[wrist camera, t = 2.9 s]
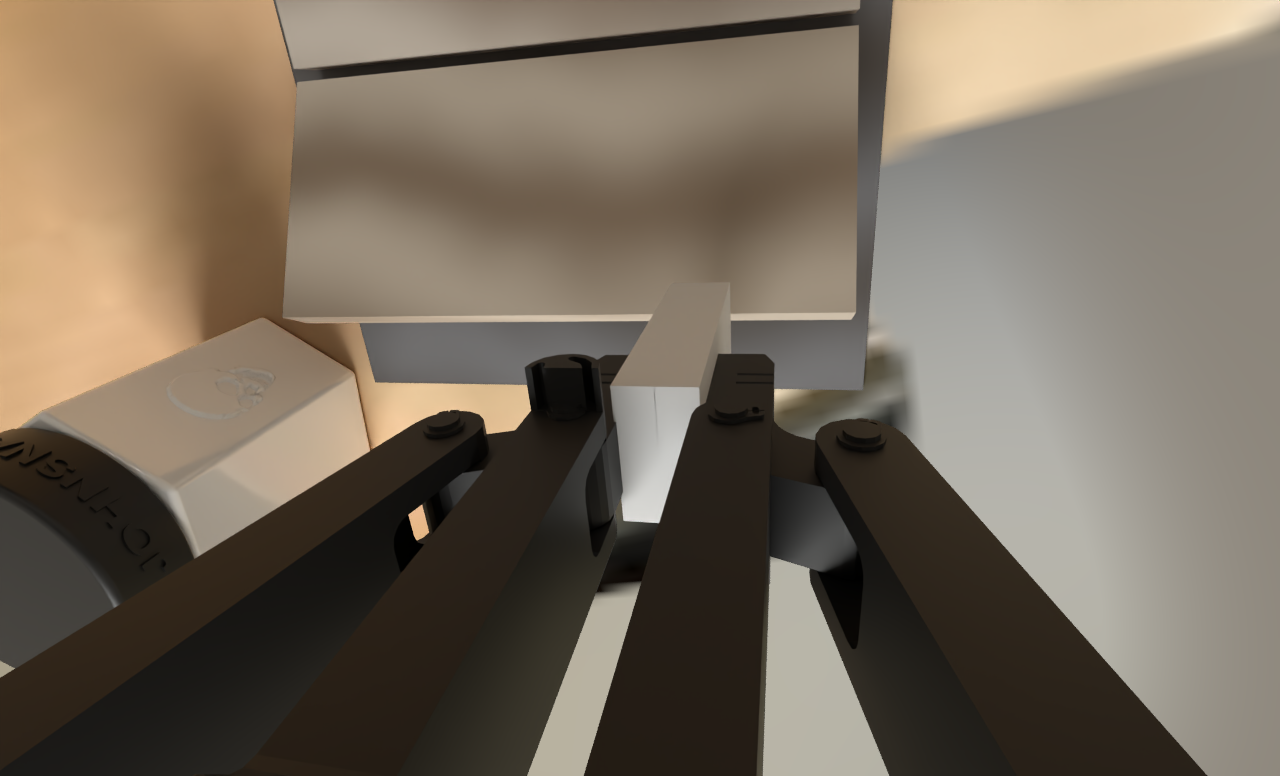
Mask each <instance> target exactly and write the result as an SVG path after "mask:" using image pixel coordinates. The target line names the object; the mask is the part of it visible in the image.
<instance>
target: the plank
mask: <svg viewBox="0 0 1280 776" xmlns="http://www.w3.org/2000/svg"><path fill="white" fill-rule="evenodd" d="M858 60H859V25H855V26H845V27H835V28H826V29H816V30H806V31H796V32H786V33H776V34H766V35H757V36H747V37H737V38H727V39H717V40H707V41H697V42H688V43H678V44H668V45H658V46H648V47H638V48H629V49H619V50H609V51H599V52H589V53H579V54H569V55H560V56H550V57H540V58H530V59H520V60H510V61H500V62H491V63H481V64H471V65H461V66H451V67H441V68H431V69H422V70H412V71H402V72H392V73H382V74H372V75H362V76H353V77H343V78H333V79H323V80H313V81H303V82H297V94H296V109H295V125H294V141H293V157H292V173H291V188H290V204H289V220H288V236H287V251H286V267H285V283H284V299H283V315H282V318H286V319H291V320H295V321H300V322H304V323H427V322H579V321H649V320H650V319H651V317H652V316H653V314H654V312H655V311H656V309H657V307H658V306H659V304H660V302H661V301H662V299H663V297H664V296H665V294H666V292H667V291H668V289H669V287H670V286H671V284H672V283H707V282H730V312H731V321H732V320H851V319H852V318H853V316H854V315H855V313H856V271H857V166H858Z"/></svg>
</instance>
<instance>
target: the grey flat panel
mask: <svg viewBox="0 0 1280 776" xmlns="http://www.w3.org/2000/svg"><path fill="white" fill-rule="evenodd" d="M892 2H893V0H274V4H275V8H276V12H277V15H278V19H279V23H280V27H281V30H282V34H283V38H284V42H285V45H286V49H287V53H288V57H289V60H290V64H291V68H292V72H293V75H294V79H295V83H296V87H297V82H303V81H313V80H323V79H333V78H343V77H353V76H362V75H372V74H382V73H392V72H402V71H412V70H422V69H431V68H441V67H451V66H461V65H471V64H481V63H491V62H500V61H510V60H520V59H530V58H540V57H550V56H560V55H569V54H579V53H589V52H599V51H609V50H619V49H629V48H638V47H648V46H658V45H668V44H678V43H688V42H697V41H707V40H717V39H727V38H737V37H747V36H757V35H766V34H776V33H786V32H796V31H806V30H816V29H826V28H835V27H845V26H855V25H859V60H858V166H857V271H856V313H855V315H854V316H853V318H852V319H851V320H732V321H731V354H766V355H767V356H768V357H769V358H770V359H771V360H772V361H773V362H774V363H775V369H774V389H821V390H863V381H864V368H865V355H866V342H867V329H868V316H869V303H870V290H871V277H872V264H873V250H874V237H875V224H876V211H877V198H878V185H879V172H880V159H881V146H882V133H883V120H884V107H885V94H886V81H887V68H888V55H889V42H890V28H891V15H892ZM648 322H649V321H579V322H427V323H360V327H361V330H362V334H363V338H364V342H365V345H366V349H367V353H368V357H369V360H370V364H371V368H372V372H373V375H374V379H375V382H388V383H450V384H512V385H527V380H526V374H525V368H524V367H526V366H527V365H529V364H530V363H532V362H534V361H537V360H539V359H542V358H545V357H550V356H555V355H562V354H581V355H587V356H590V357H593V358H595V359H596V360H597V359H599V358H601V357H603V356H604V355H629V354H630V352H631V350H632V349H633V347H634V345H635V344H636V342H637V340H638V339H639V337H640V335H641V334H642V332H643V330H644V329H645V327H646V325H647V324H648Z"/></svg>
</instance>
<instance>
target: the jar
mask: <svg viewBox="0 0 1280 776" xmlns="http://www.w3.org/2000/svg"><path fill="white" fill-rule="evenodd" d="M369 451H370V447H369V442H368V437H367V432H366V427H365V423H364V418H363V413H362V408H361V403H360V398H359V393H358V388H357V383H356V378H355V374H354V372H353V371H351V370H350V369H348V368H346V367H345V366H343V365H342V364H340V363H338V362H337V361H335V360H333V359H332V358H330V357H328V356H327V355H325V354H323V353H322V352H320V351H319V350H317V349H315V348H314V347H312V346H310V345H309V344H307V343H305V342H304V341H302V340H301V339H299V338H297V337H296V336H294V335H292V334H291V333H289V332H287V331H286V330H284V329H282V328H281V327H279V326H278V325H276V324H274V323H273V322H271V321H269V320H268V319H266V318H258V319H256V320H254V321H251V322H249V323H247V324H244V325H242V326H240V327H237V328H235V329H232V330H230V331H228V332H225V333H223V334H221V335H218V336H216V337H214V338H211V339H209V340H207V341H204V342H202V343H200V344H197V345H195V346H193V347H190V348H188V349H186V350H183V351H181V352H178V353H176V354H174V355H171V356H169V357H167V358H164V359H162V360H160V361H157V362H155V363H153V364H150V365H148V366H146V367H143V368H141V369H139V370H136V371H134V372H131V373H129V374H127V375H124V376H122V377H120V378H117V379H115V380H113V381H110V382H108V383H106V384H103V385H101V386H99V387H96V388H94V389H91V390H89V391H87V392H84V393H82V394H80V395H77V396H75V397H73V398H70V399H68V400H66V401H63V402H61V403H58V404H56V405H54V406H51V407H49V408H47V409H44V410H42V411H40V412H39V413H37V414H36V415H35V416H33V417H32V418H31V419H29V420H28V421H27V422H25V423H24V424H22V425H21V426H20V427H18V428H17V429H11V430H8V431H4V432H2V433H0V661H2V662H4V663H6V664H8V665H9V666H12V667H14V668H15V669H16V668H17V667H19V666H20V665H22V664H24V663H25V662H27V661H29V660H30V659H32V658H33V657H35V656H37V655H38V654H40V653H42V652H43V651H45V650H47V649H48V648H50V647H51V646H53V645H55V644H56V643H58V642H60V641H61V640H63V639H64V638H66V637H68V636H69V635H71V634H73V633H74V632H76V631H77V630H79V629H81V628H82V627H84V626H86V625H87V624H89V623H91V622H92V621H94V620H95V619H97V618H99V617H100V616H102V615H104V614H105V613H107V612H108V611H110V610H112V609H113V608H115V607H117V606H118V605H120V604H121V603H123V602H125V601H126V600H128V599H130V598H131V597H133V596H135V595H136V594H138V593H139V592H141V591H143V590H144V589H146V588H148V587H149V586H151V585H152V584H154V583H156V582H157V581H159V580H161V579H162V578H164V577H165V576H167V575H169V574H170V573H172V572H174V571H175V570H177V569H179V568H180V567H182V566H183V565H185V564H187V563H188V562H190V561H192V560H193V559H195V558H196V557H198V556H200V555H201V554H203V553H205V552H206V551H208V550H209V549H211V548H213V547H214V546H216V545H218V544H219V543H221V542H223V541H224V540H226V539H227V538H229V537H231V536H232V535H234V534H236V533H237V532H239V531H240V530H242V529H244V528H245V527H247V526H249V525H250V524H252V523H253V522H255V521H257V520H258V519H260V518H262V517H263V516H265V515H267V514H268V513H270V512H271V511H273V510H275V509H276V508H278V507H280V506H281V505H283V504H284V503H286V502H288V501H289V500H291V499H293V498H294V497H296V496H297V495H299V494H301V493H302V492H304V491H306V490H307V489H309V488H311V487H312V486H314V485H315V484H317V483H319V482H320V481H322V480H324V479H325V478H327V477H328V476H330V475H332V474H333V473H335V472H337V471H338V470H340V469H341V468H343V467H345V466H346V465H348V464H350V463H351V462H353V461H355V460H356V459H358V458H359V457H361V456H363V455H364V454H366V453H368V452H369Z"/></svg>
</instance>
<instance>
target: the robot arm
mask: <svg viewBox="0 0 1280 776" xmlns="http://www.w3.org/2000/svg"><path fill="white" fill-rule="evenodd" d="M524 368H525V374H526V380H527V387H528V393H529V399H530V406H531V412H530V413H529V414H528V415H527V417H526V418H525V419H524V420H523V422H522V423H521V424H520V425H519V427H518V428H517V429H516V430H515V431H508V432H501V433H493V434H486V429H485V424H484V420H483V418H482V417H481V416H480V415H479V414H476V413H472V412H467V411H459V410H450V412H448V411H443V412H439V413H438V414H437V415H433V416H430V417H427V418H425V419H423V420H421V421H419V422H417V423H415V424H413V425H412V426H410V427H408V428H407V429H405V430H403V431H402V432H400V433H399V434H397V435H395V436H394V437H392V438H390V439H389V440H387V441H385V442H384V443H382V444H381V445H379V446H377V447H376V448H374V449H372V450H371V451H369V452H368V453H366V454H364V455H363V456H361V457H359V458H358V459H356V460H355V461H353V462H351V463H350V464H348V465H346V466H345V467H343V468H341V469H340V470H338V471H337V472H335V473H333V474H332V475H330V476H328V477H327V478H325V479H324V480H322V481H320V482H319V483H317V484H315V485H314V486H312V487H311V488H309V489H307V490H306V491H304V492H302V493H301V494H299V495H297V496H296V497H294V498H293V499H291V500H289V501H288V502H286V503H284V504H283V505H281V506H280V507H278V508H276V509H275V510H273V511H271V512H270V513H268V514H267V515H265V516H263V517H262V518H260V519H258V520H257V521H255V522H253V523H252V524H250V525H249V526H247V527H245V528H244V529H242V530H240V531H239V532H237V533H236V534H234V535H232V536H231V537H229V538H227V539H226V540H224V541H223V542H221V543H219V544H218V545H216V546H214V547H213V548H211V549H209V550H208V551H206V552H205V553H203V554H201V555H200V556H198V557H196V558H195V559H193V560H192V561H190V562H188V563H187V564H185V565H183V566H182V567H180V568H179V569H177V570H175V571H174V572H172V573H170V574H169V575H167V576H165V577H164V578H162V579H161V580H159V581H157V582H156V583H154V584H152V585H151V586H149V587H148V588H146V589H144V590H143V591H141V592H139V593H138V594H136V595H135V596H133V597H131V598H130V599H128V600H126V601H125V602H123V603H121V604H120V605H118V606H117V607H115V608H113V609H112V610H110V611H108V612H107V613H105V614H104V615H102V616H100V617H99V618H97V619H95V620H94V621H92V622H91V623H89V624H87V625H86V626H84V627H82V628H81V629H79V630H77V631H76V632H74V633H73V634H71V635H69V636H68V637H66V638H64V639H63V640H61V641H60V642H58V643H56V644H55V645H53V646H51V647H50V648H48V649H47V650H45V651H43V652H42V653H40V654H38V655H37V656H35V657H33V658H32V659H30V660H29V661H27V662H25V663H24V664H22V665H20V666H19V667H17V668H16V669H14V670H12V671H11V672H9V673H7V674H6V675H4V676H3V677H1V678H0V776H527V774H528V772H529V769H530V766H531V764H532V761H533V758H534V756H535V753H536V750H537V748H538V745H539V742H540V739H541V737H542V734H543V732H544V729H545V727H546V724H547V721H548V719H549V716H550V713H551V710H552V708H553V705H554V703H555V699H556V697H557V695H558V692H559V689H560V686H561V684H562V681H563V678H564V676H565V673H566V671H567V668H568V665H569V662H570V660H571V657H572V654H573V652H574V649H575V647H576V644H577V641H578V639H579V636H580V633H581V631H582V628H583V625H584V623H585V620H586V617H587V615H588V612H589V609H590V607H591V604H592V601H593V599H594V596H595V593H596V591H597V588H598V585H599V583H600V580H601V577H602V575H603V572H604V569H605V567H606V564H607V562H608V559H609V556H610V554H611V551H612V548H613V546H614V543H615V540H616V538H617V523H616V513H615V510H616V508H617V505H618V503H619V501H620V498H621V499H622V509H623V519H624V521H635V522H651V523H659V525H658V528H657V532H656V535H655V538H654V542H653V545H652V549H651V552H650V555H649V559H648V562H647V565H646V569H645V572H644V575H643V579H642V582H641V585H640V589H639V592H638V595H637V599H636V602H635V606H634V609H633V612H632V616H631V619H630V622H629V626H628V629H627V632H626V636H625V639H624V642H623V646H622V649H621V653H620V656H619V659H618V663H617V666H616V670H615V673H614V676H613V680H612V683H611V686H610V690H609V693H608V696H607V700H606V703H605V706H604V710H603V713H602V716H601V720H600V723H599V727H598V730H597V733H596V737H595V740H594V744H593V747H592V750H591V753H590V757H589V760H588V763H587V767H586V770H585V773H584V776H763V747H764V719H765V690H766V689H765V688H766V661H767V631H768V602H769V584H770V556H771V557H774V558H778V559H781V560H784V561H788V562H791V563H794V564H797V565H801V566H804V567H807V568H810V572H809V573H810V581H811V585H812V587H813V590H814V592H815V595H816V597H817V600H818V602H819V604H820V607H821V610H822V612H823V614H824V617H825V619H826V622H827V624H828V627H829V629H830V631H831V634H832V636H833V639H834V641H835V644H836V646H837V649H838V651H839V654H840V656H841V658H842V661H843V663H844V666H845V668H846V671H847V673H848V675H849V678H850V680H851V683H852V685H853V688H854V690H855V693H856V695H857V698H858V700H859V703H860V705H861V707H862V710H863V712H864V715H865V717H866V720H867V722H868V724H869V727H870V729H871V732H872V734H873V737H874V739H875V742H876V744H877V747H878V749H879V751H880V754H881V756H882V759H883V761H884V764H885V766H886V769H887V771H888V774H889V776H1207V775H1206V774H1205V773H1204V771H1203V770H1202V769H1201V768H1200V767H1199V766H1198V765H1197V764H1196V763H1195V761H1194V760H1193V759H1192V758H1191V757H1190V756H1189V755H1188V754H1187V752H1186V751H1185V750H1184V749H1183V748H1182V747H1181V746H1180V745H1179V743H1178V742H1177V741H1176V740H1175V739H1174V738H1173V737H1172V735H1171V734H1170V733H1169V732H1168V731H1167V730H1166V729H1165V728H1164V726H1163V725H1162V724H1161V723H1160V722H1159V721H1158V720H1157V719H1156V717H1155V716H1154V715H1153V714H1152V713H1151V712H1150V711H1149V710H1148V708H1147V707H1146V706H1145V705H1144V704H1143V703H1142V702H1141V701H1140V699H1139V698H1138V697H1137V696H1136V695H1135V694H1134V693H1133V691H1132V690H1131V689H1130V688H1129V687H1128V686H1127V685H1126V683H1124V681H1123V680H1122V679H1121V678H1120V677H1119V676H1118V674H1117V673H1116V672H1115V671H1114V670H1113V669H1112V668H1111V667H1110V665H1109V664H1108V663H1107V662H1106V661H1105V660H1104V659H1103V658H1102V656H1101V655H1100V654H1099V653H1098V652H1097V651H1096V650H1095V649H1094V647H1093V646H1092V645H1091V644H1090V643H1089V642H1088V641H1087V640H1086V638H1085V637H1084V636H1083V635H1082V634H1081V633H1080V632H1079V630H1078V629H1077V628H1076V627H1075V626H1074V625H1073V624H1072V623H1071V622H1070V620H1069V619H1068V618H1067V617H1066V616H1065V615H1064V614H1063V612H1061V610H1060V609H1059V608H1058V607H1057V606H1056V605H1055V604H1054V602H1053V601H1052V600H1051V599H1050V598H1049V597H1048V596H1047V594H1046V593H1045V592H1044V591H1043V590H1042V589H1041V588H1040V586H1039V585H1038V584H1037V583H1036V582H1035V581H1034V580H1033V579H1032V578H1031V576H1029V574H1028V573H1027V572H1026V571H1025V570H1024V569H1023V567H1022V566H1021V565H1020V564H1019V563H1018V562H1017V561H1016V559H1015V558H1014V557H1013V556H1012V555H1011V554H1010V553H1009V552H1008V550H1007V549H1006V548H1005V547H1004V546H1003V545H1002V544H1001V543H1000V541H999V540H998V539H997V538H996V537H995V536H994V535H993V533H992V532H991V531H990V530H989V529H988V528H987V527H986V526H985V524H984V523H983V522H982V521H981V520H980V519H979V518H978V517H977V515H976V514H975V513H974V512H973V511H972V510H971V509H970V508H969V506H968V505H967V504H966V503H965V502H964V501H963V500H962V498H961V497H960V496H959V495H958V494H957V493H956V492H955V491H954V489H953V488H952V487H951V486H950V485H949V484H948V483H947V482H946V480H945V479H944V478H943V477H942V476H941V475H940V474H939V473H938V471H937V470H936V469H935V468H934V467H933V466H932V465H931V464H930V462H929V461H928V460H927V459H926V458H925V457H924V456H923V455H922V453H921V452H920V451H919V450H918V449H917V448H916V447H915V445H914V444H913V443H912V442H911V441H910V440H909V439H908V438H907V436H906V435H904V434H903V433H902V432H900V431H899V430H897V429H896V428H894V427H891V426H889V425H886V424H883V423H881V422H879V421H875V420H870V421H869V419H863V418H858V419H846V420H840V421H835V422H831V423H829V424H827V425H825V426H823V427H821V428H820V429H819V431H818V432H817V433H816V437H815V440H811V439H806V438H802V437H798V436H795V435H793V434H790V433H788V432H786V431H784V430H783V429H781V428H780V427H778V425H777V424H776V423H775V422H774V369H775V363H774V362H773V361H772V360H771V359H770V358H769V357H768V356H767V355H766V354H731V312H730V282H707V283H672V284H671V286H670V287H669V289H668V291H667V292H666V294H665V296H664V297H663V299H662V301H661V302H660V304H659V306H658V307H657V309H656V311H655V312H654V314H653V316H652V317H651V319H650V320H649V322H648V324H647V325H646V327H645V329H644V330H643V332H642V334H641V335H640V337H639V339H638V340H637V342H636V344H635V345H634V347H633V349H632V350H631V352H630V354H629V355H604V356H603V357H601V358H599V359H597V360H596V359H595V358H593V357H590V356H587V355H581V354H562V355H555V356H550V357H545V358H542V359H539V360H537V361H534V362H532V363H530V364H529V365H527V366H526V367H524ZM420 505H423V509H424V513H425V517H426V521H427V525H428V529H429V533H428V534H427V535H426V536H425V537H423V538H422V539H420V540H418V541H417V540H416V539H415V537H414V535H413V531H412V527H411V523H410V520H409V516H408V515H409V514H410V513H411V512H412V511H414V510H415V509H416V508H418V507H419V506H420Z"/></svg>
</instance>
